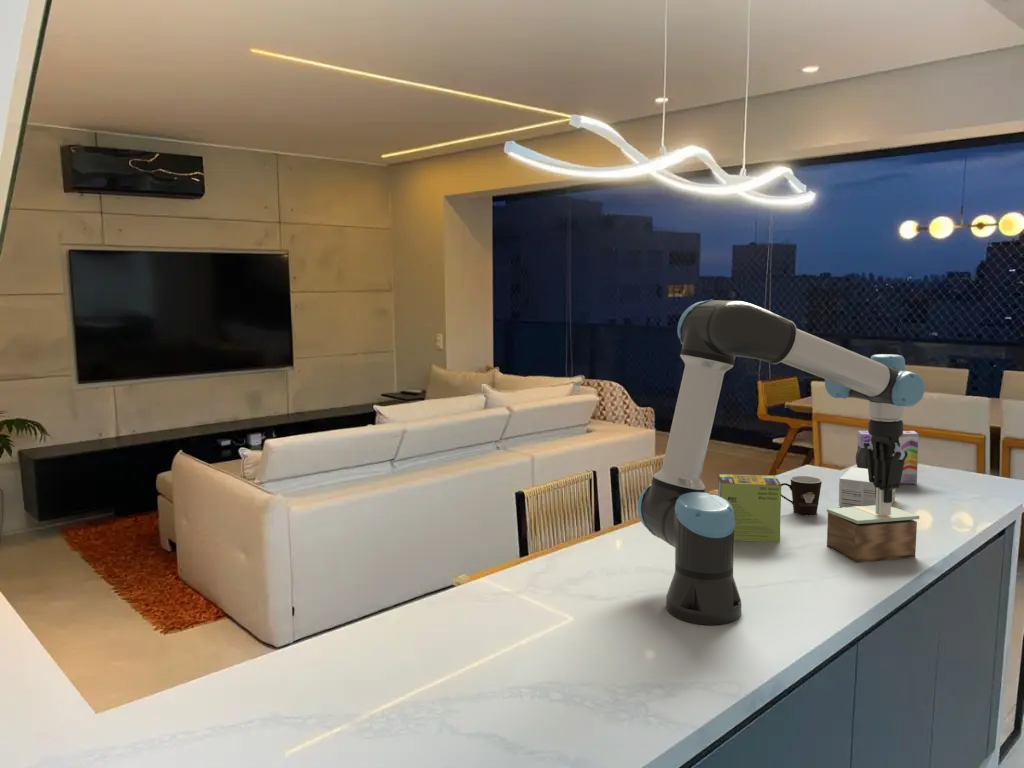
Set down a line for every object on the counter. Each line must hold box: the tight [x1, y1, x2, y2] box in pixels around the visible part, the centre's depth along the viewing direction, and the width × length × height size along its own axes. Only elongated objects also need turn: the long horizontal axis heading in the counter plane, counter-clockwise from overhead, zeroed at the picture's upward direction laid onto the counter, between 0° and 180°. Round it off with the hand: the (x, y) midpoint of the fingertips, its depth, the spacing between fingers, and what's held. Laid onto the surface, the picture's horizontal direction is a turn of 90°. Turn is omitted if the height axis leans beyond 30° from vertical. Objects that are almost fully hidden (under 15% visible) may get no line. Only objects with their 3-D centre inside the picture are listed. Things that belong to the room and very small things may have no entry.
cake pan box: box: [855, 430, 919, 484], centre depth 252 cm, size 19×5×18 cm, turn 81°
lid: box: [826, 505, 920, 524], centre depth 185 cm, size 17×12×1 cm
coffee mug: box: [780, 475, 823, 517], centre depth 221 cm, size 12×9×10 cm
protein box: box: [717, 474, 782, 543], centre depth 200 cm, size 10×15×16 cm
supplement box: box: [838, 466, 896, 508], centre depth 228 cm, size 17×13×9 cm
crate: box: [826, 512, 918, 564], centre depth 186 cm, size 16×12×9 cm
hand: (882, 514), depth 182 cm, fingers closed
